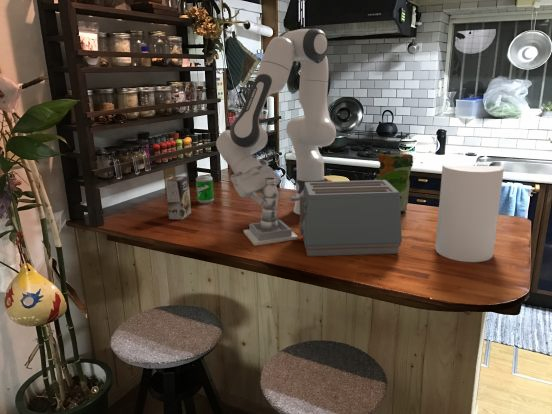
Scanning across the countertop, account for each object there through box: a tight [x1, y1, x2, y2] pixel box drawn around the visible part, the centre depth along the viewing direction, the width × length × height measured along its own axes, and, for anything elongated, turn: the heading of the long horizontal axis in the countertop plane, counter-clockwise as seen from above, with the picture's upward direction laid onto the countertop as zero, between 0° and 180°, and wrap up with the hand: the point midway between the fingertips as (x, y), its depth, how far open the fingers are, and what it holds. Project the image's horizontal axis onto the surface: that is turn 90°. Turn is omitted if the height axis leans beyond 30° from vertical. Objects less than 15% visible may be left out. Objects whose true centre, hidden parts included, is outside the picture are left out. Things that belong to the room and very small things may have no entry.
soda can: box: [195, 174, 215, 204], centre depth 208 cm, size 8×8×12 cm
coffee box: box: [165, 175, 192, 221], centre depth 187 cm, size 9×6×16 cm
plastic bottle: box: [260, 177, 280, 232], centre depth 162 cm, size 6×7×20 cm
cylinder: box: [435, 165, 505, 263], centre depth 143 cm, size 17×17×28 cm
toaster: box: [290, 179, 403, 257], centre depth 151 cm, size 19×35×20 cm, turn 91°
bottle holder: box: [243, 219, 299, 246], centre depth 164 cm, size 16×14×4 cm
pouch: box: [376, 152, 414, 212], centre depth 184 cm, size 11×12×25 cm
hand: (270, 200), depth 161 cm, fingers open, 8 cm apart
